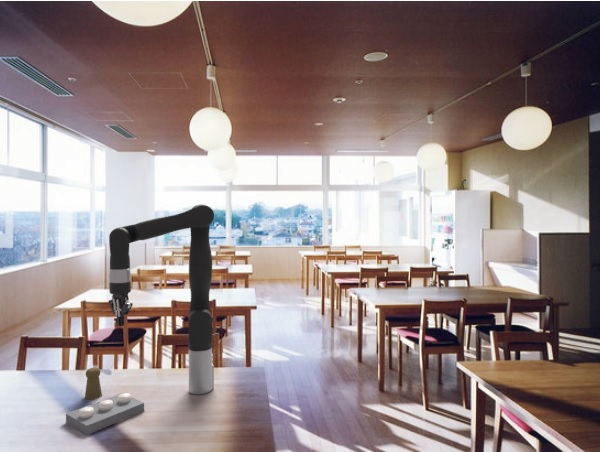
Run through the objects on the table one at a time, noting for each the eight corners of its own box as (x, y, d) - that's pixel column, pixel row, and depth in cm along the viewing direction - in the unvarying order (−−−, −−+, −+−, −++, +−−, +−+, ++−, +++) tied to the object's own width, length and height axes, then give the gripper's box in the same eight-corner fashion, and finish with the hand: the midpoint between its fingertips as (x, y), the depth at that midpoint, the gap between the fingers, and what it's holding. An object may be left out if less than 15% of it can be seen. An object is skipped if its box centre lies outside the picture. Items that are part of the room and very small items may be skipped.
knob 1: (89, 419, 149) (89, 405, 149) (96, 423, 147) (96, 409, 147) (76, 424, 146) (76, 410, 146) (83, 428, 143) (83, 413, 143)
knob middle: (108, 412, 155) (108, 398, 155) (115, 415, 152) (115, 401, 152) (96, 416, 152) (96, 403, 151) (103, 420, 149) (103, 406, 149)
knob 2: (126, 405, 161) (126, 392, 161) (133, 408, 158) (133, 395, 158) (115, 409, 157) (115, 396, 157) (122, 412, 155) (122, 399, 154)
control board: (122, 400, 165) (122, 393, 165) (144, 410, 156) (144, 402, 156) (66, 422, 148) (65, 413, 148) (86, 434, 139) (86, 425, 139)
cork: (95, 400, 165) (94, 371, 165) (81, 398, 166) (80, 370, 166) (105, 393, 171) (104, 366, 171) (91, 392, 172) (91, 365, 172)
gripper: (139, 280, 162) (139, 326, 162) (119, 277, 170) (120, 321, 170) (120, 283, 156) (121, 331, 156) (101, 280, 164) (101, 325, 164)
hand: (120, 325), depth 163 cm, fingers closed
